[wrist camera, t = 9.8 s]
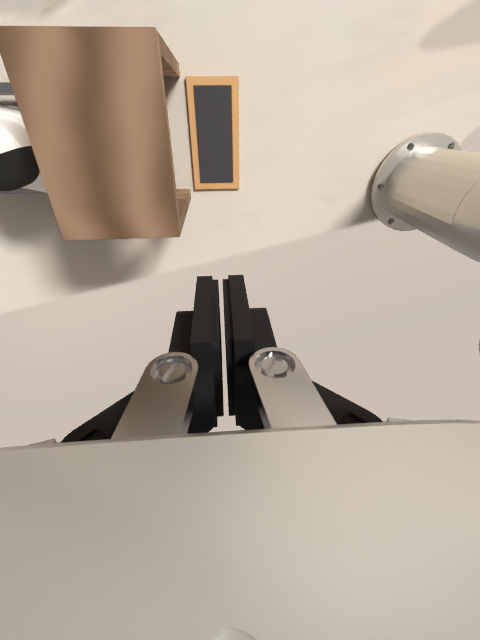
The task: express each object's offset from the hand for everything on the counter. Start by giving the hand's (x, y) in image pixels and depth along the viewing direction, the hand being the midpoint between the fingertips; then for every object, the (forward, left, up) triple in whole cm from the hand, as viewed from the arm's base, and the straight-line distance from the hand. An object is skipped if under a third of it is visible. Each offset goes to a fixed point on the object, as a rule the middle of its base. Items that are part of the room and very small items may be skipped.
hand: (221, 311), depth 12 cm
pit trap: (0, -4, -35) cm, 35 cm away
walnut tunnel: (+9, -4, -35) cm, 36 cm away
